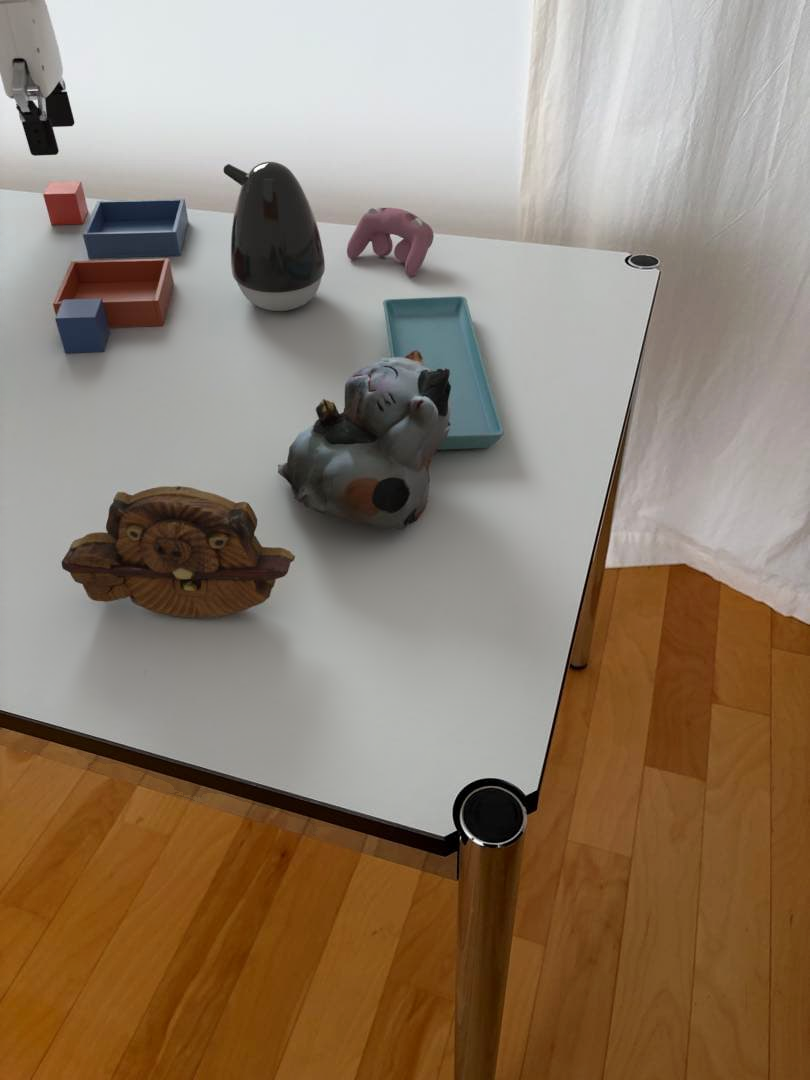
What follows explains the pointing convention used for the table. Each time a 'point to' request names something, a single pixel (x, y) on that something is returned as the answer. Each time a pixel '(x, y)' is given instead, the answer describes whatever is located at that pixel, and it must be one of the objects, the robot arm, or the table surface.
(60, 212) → the red block
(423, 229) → the video game controller
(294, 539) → the table surface
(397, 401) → the lucky cat figurine
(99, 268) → the red bin
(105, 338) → the blue block
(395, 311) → the rectangular tray
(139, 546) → the wooden carving
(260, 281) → the pump dispenser
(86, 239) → the blue bin
